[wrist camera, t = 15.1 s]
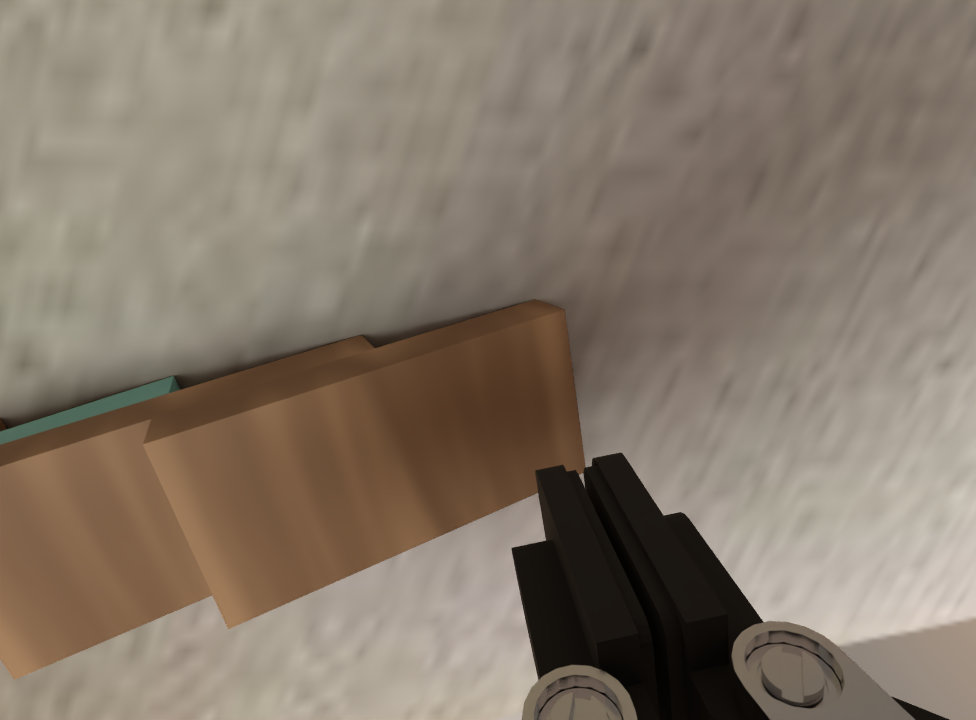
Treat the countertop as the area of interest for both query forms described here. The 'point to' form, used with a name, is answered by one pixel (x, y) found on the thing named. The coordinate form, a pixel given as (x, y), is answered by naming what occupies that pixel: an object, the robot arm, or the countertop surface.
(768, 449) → the countertop surface
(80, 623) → the domino
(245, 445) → the domino
